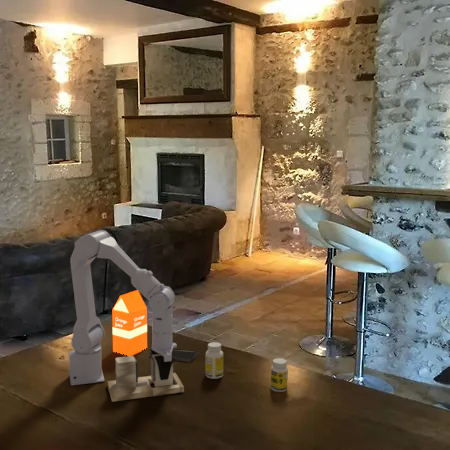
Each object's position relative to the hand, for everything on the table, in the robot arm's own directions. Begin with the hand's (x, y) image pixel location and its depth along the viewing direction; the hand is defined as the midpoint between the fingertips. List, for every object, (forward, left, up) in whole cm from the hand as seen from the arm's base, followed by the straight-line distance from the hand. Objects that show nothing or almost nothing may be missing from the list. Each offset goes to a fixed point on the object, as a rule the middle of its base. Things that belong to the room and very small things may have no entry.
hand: (162, 376), depth 156 cm
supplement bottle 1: (+17, +3, -3) cm, 17 cm away
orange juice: (-4, +31, -3) cm, 32 cm away
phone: (+9, +22, -4) cm, 24 cm away
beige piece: (-5, 0, -3) cm, 6 cm away
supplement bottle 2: (+32, -11, -3) cm, 34 cm away
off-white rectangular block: (0, 0, -2) cm, 2 cm away
